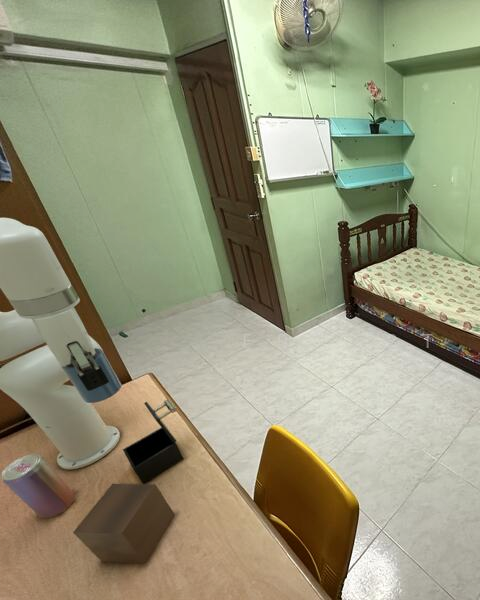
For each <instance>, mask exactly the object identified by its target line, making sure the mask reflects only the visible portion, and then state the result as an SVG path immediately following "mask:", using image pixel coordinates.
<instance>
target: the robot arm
mask: <svg viewBox="0 0 480 600" xmlns="http://www.w3.org/2000/svg"><path fill="white" fill-rule="evenodd" d="M0 291H1V292H2V293H3V294H4V296H5V297H6V299H7V300H8V302H9V303H10V305H11V306H12V308H13V310H10V311H6V312H5V311H0V362H4V361H6V360H9V359H11V358H13V357H16V356H18V355H21V354H23V353H25V352H28V353H25V354H23V355H21V356H19V357H17V358H15V359H13V360H11V361H9V362H7V363H5V364H4V365H3V366H1V367H0V390H1V391H2V392H3V393H4V394H6V395H7V396H8V397H10V398H11V399H12V400H14V401H15V402H16V403H17V404H18V405H20V407H21V408H23V409H24V410H25V412H27V414H28V415H29V416H30V417H31V419H32V420H33V421H34V422H35V423H36V424H37V426H38V427H39V428H40V429H41V431H42V432H43V433H44V434H45V436H46V437H47V438H48V439H49V440H50V441H51V443H52V444H53V445H54V446H55V447H56V449H57V450H58V451H59V453H58V454H57V457H56V463H57V466H59V467H60V468H61V469H64V470H77V469H81V468H84V467H87V466H90V465H91V464H94V463H96V462H97V461H99V460H100V459H102V458H104V457H105V456H106V455H108V454H109V453H110V452H111V451H112V450H113V449H114V448H115V447H116V446H117V444H118V443H119V441H120V438H121V432H120V431H119V429H118V428H117V427H115V426H113V425H107V424H106V423H105V422H104V420H103V418H102V417H101V416H100V414H99V413H98V411H97V410H96V408H95V407H94V405H93V403H87V402H85V401H84V400H83V399H82V397H81V396H80V394H79V393H78V391H77V390H76V388H75V387H74V385H69V384H65V383H67V382H68V381H70V379H69V378H68V376H67V375H66V373H65V372H64V370H63V369H62V367H61V366H63V367H65V366H66V365H69V364H70V362H71V363H72V364H73V365H74V367H75V369H76V370H77V372H78V373H79V374H78V376H79V378H80V380H81V381H82V383H83V384H84V386H85V387H86V389H87V390H88V391H91V390H93V389H95V388H98V387H100V386H102V385H105V384H107V383H108V382H109V381H108V379H107V377H106V375H105V374H104V372H103V370H102V369H101V367H100V366H98V365H97V364H96V362H95V360H94V358H93V357H92V356H94V355H95V350H94V348H98V349H101V350H102V351H103V352H104V349H103V348H102V347H101V346H100V344H99V343H98V342H97V340H95V339H94V338H93V337H92V336H90V335H89V333H88V331H87V328H86V327H85V325H84V323H83V321H82V319H81V317H80V315H79V314H78V312H77V310H76V308H75V307H76V306H77V305H78V304H79V303H80V302H81V299H80V297H79V295H78V293H77V291H76V290H75V288H74V286H73V284H72V283H71V281H70V279H69V277H68V275H67V274H66V272H65V270H64V269H63V266H62V265H61V263H60V261H59V259H58V258H57V255H56V254H55V251H54V250H53V248H52V246H51V245H50V243H49V241H48V239H47V238H46V236H45V234H44V233H43V232H42V231H41V230H40V229H39V228H37V227H35V226H32V225H26V224H24V223H23V222H21V221H19V220H17V219H14V218H10V217H0ZM43 344H44V345H43ZM40 345H43V346H41V347H39V346H40ZM36 347H38V348H36ZM34 348H35V349H34ZM32 349H34V350H32ZM30 350H31V351H30ZM29 351H30V352H29ZM85 352H87V353H88V355H86V356H85V355H84V353H85ZM72 357H75V358H76V359H75V360H74V359H73V358H72ZM87 359H90V361H91V362H92V363H91V362H88V360H87ZM77 363H78V364H79V365H80V366H79V365H78V364H77Z"/></svg>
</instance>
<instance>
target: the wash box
mask: <svg viewBox="0 0 480 600" xmlns="http://www.w3.org/2000/svg"><path fill="white" fill-rule="evenodd" d="M122 451H123V453H124V455H125V457H126V458H127V461H128V463H129V465H130V466H131V468H132V470H133V471H134V473H135V474H136V476H137V478H138V479H139V480H140V482H141V484H149V483H150V482H152V481H153V480H154V479H156V478H157V477H159V476H160V475H162V474H163V473H165V472H166V471H169V469H171V468H172V467H175V466H176V465H178V463H180V462H181V461H183V460H185V458H184V455H183V454H182V452H181V450H180V448H179V446H178V444H177V443H176V442H175V443H174V442H173V441H172V440H171V439H170V437H169V436H168V435H167V434H166V432H165V431H164V430H163V429H162V427H161V426H160V427H159V428H157V429H156V430H154V431H152V432H150V433H149V434H147V435H145V436H144V437H141V438H140V439H138V440H136V441H135V442H134V443H131V444H130V445H128V446H127V447H124V448H123V449H122Z"/></svg>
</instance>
